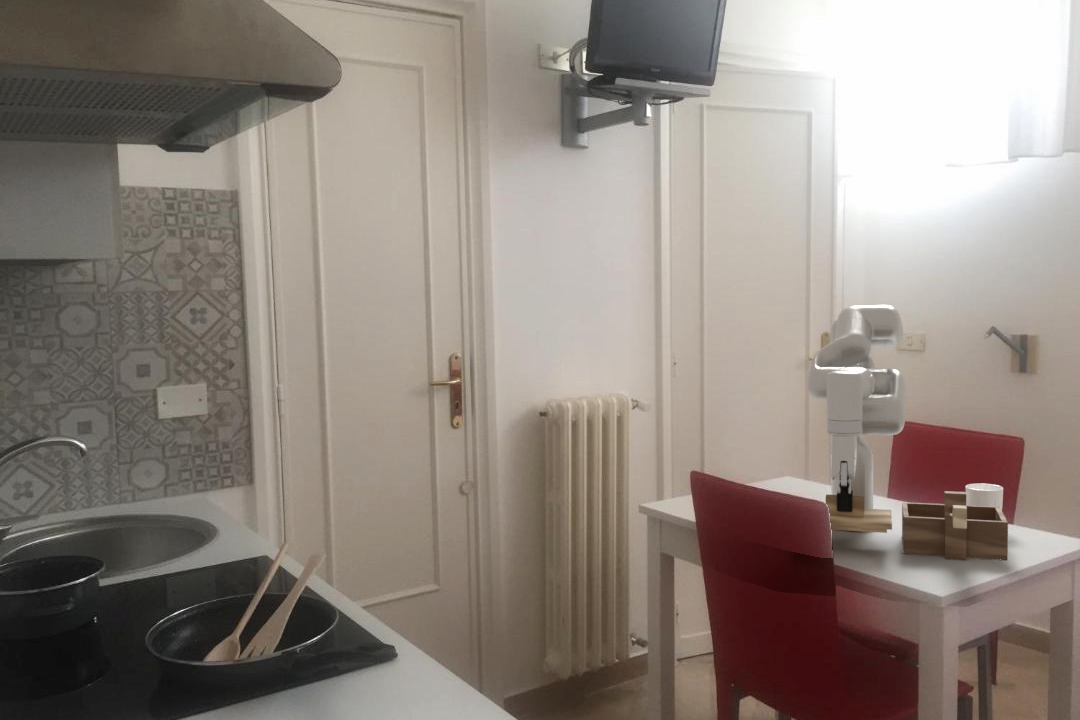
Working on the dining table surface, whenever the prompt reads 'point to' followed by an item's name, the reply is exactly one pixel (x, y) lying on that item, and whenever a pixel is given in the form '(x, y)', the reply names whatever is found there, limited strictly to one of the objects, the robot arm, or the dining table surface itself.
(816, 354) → the robot arm
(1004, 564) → the dining table surface
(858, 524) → the lid
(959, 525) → the wooden key
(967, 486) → the white cup
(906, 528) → the toolbox
